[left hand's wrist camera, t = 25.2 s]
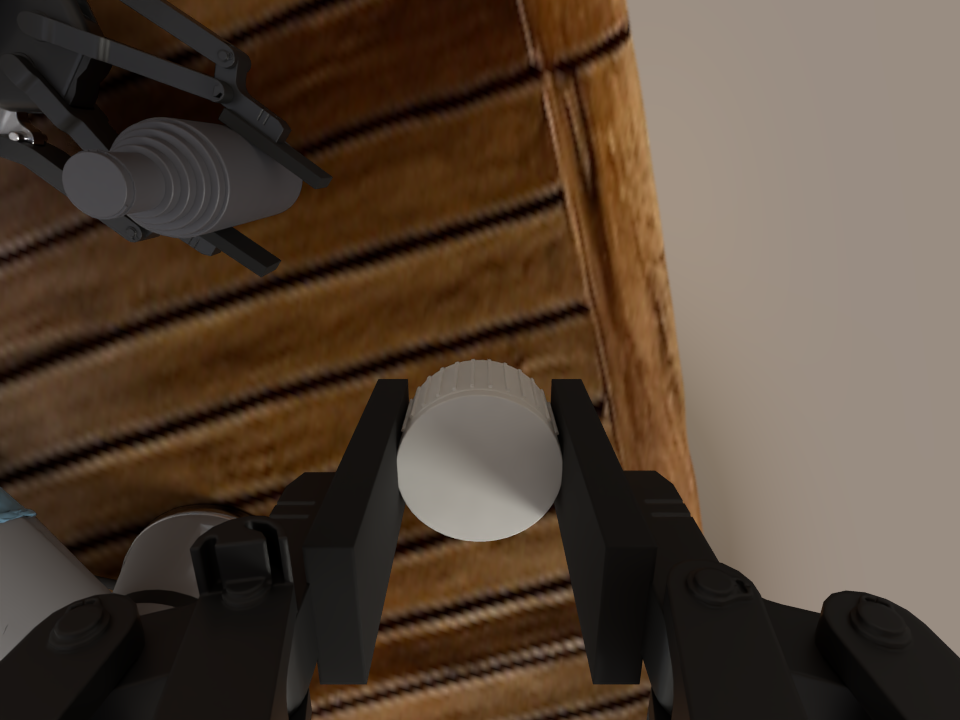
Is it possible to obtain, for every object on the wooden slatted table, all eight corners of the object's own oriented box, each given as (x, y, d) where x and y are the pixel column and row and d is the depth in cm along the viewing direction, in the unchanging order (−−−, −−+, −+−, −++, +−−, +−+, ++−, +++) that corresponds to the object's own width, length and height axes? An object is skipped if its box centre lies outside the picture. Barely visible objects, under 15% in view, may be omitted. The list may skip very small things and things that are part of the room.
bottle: (204, 172, 40) (-9, 183, 23) (255, 110, 39) (70, 71, 21) (268, 232, 42) (115, 285, 24) (319, 174, 40) (196, 186, 23)
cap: (415, 495, 15) (404, 549, 13) (396, 363, 14) (380, 399, 12) (556, 485, 15) (568, 538, 13) (550, 351, 14) (563, 385, 12)
